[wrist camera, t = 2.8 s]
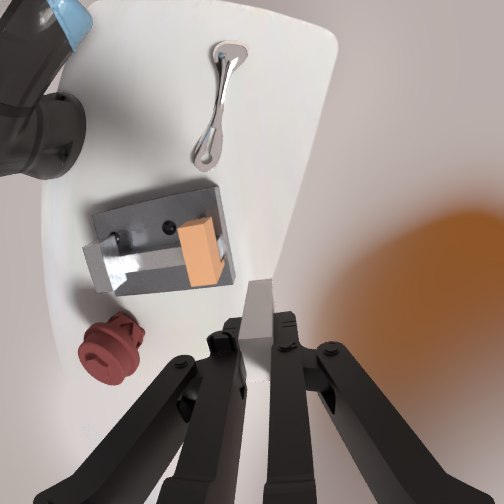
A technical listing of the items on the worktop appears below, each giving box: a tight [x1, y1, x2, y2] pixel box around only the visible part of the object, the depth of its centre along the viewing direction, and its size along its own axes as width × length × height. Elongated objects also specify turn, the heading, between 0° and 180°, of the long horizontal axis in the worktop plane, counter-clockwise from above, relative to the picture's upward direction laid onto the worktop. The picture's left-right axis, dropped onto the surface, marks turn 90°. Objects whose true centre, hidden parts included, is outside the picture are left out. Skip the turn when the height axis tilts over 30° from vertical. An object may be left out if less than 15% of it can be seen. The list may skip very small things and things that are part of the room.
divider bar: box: [82, 234, 223, 293], centre depth 33 cm, size 6×18×6 cm, turn 99°
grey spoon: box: [194, 41, 249, 172], centre depth 31 cm, size 20×4×5 cm
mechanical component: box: [78, 312, 145, 385], centre depth 38 cm, size 12×10×10 cm
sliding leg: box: [177, 217, 225, 287], centre depth 32 cm, size 7×3×6 cm, turn 9°
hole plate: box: [93, 186, 236, 296], centre depth 38 cm, size 13×19×3 cm
